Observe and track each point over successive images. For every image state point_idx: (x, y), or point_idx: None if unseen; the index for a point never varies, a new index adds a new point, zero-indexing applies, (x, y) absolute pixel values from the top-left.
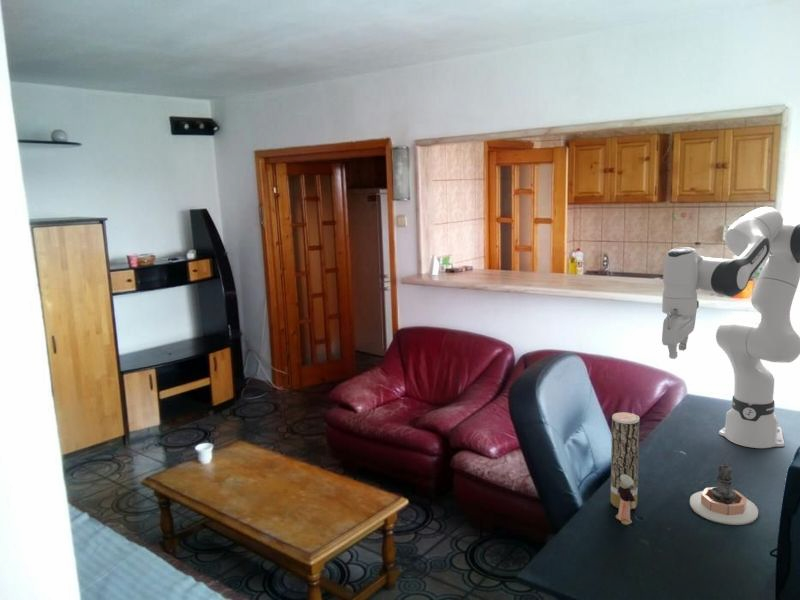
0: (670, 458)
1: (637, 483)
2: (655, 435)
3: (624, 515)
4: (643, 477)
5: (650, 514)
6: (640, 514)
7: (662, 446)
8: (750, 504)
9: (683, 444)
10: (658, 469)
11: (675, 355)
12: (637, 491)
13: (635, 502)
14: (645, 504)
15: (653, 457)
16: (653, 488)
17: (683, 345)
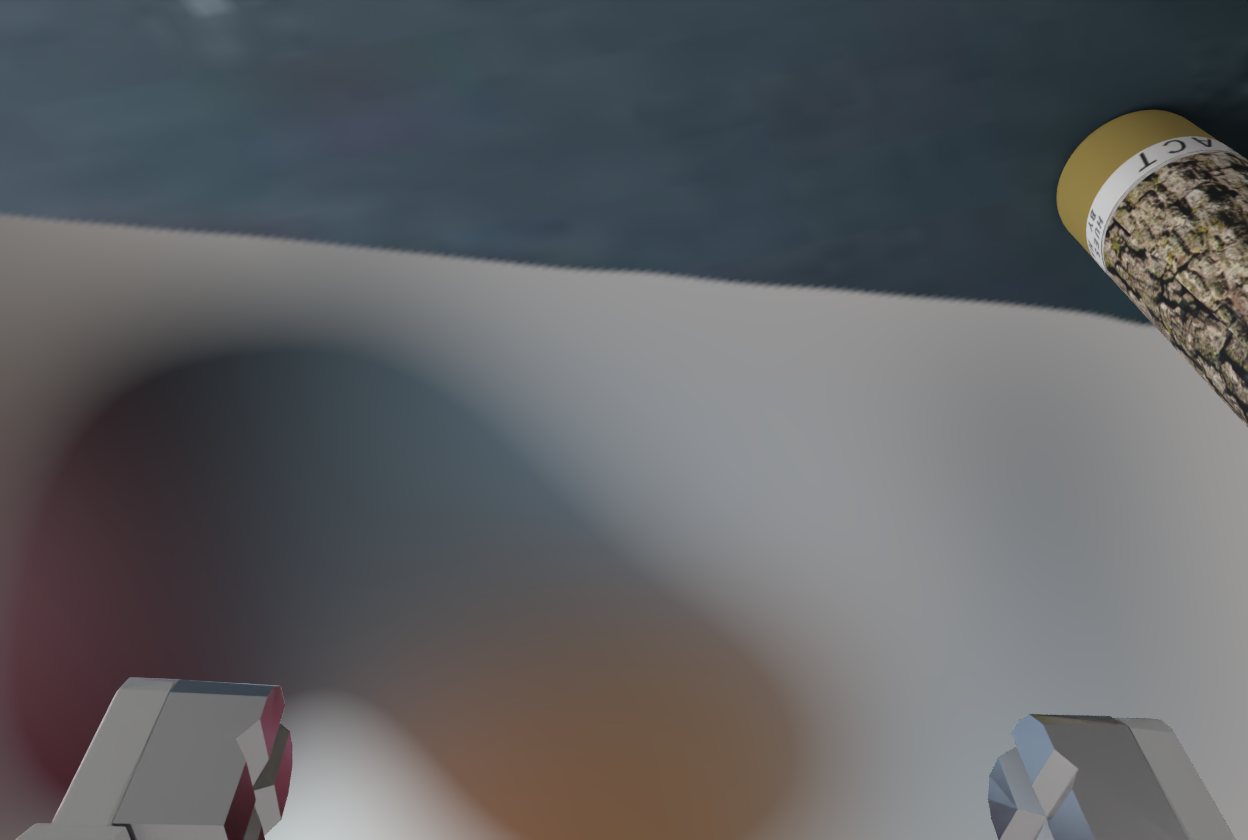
0: (371, 52)
1: (1226, 160)
2: (57, 215)
3: None
4: (742, 151)
5: (1217, 15)
6: (1225, 68)
7: (207, 138)
8: None
9: (65, 9)
10: (586, 92)
11: (1203, 792)
12: (1186, 139)
13: (1187, 121)
14: (1096, 67)
15: (420, 156)
16: (872, 66)
17: (237, 827)
